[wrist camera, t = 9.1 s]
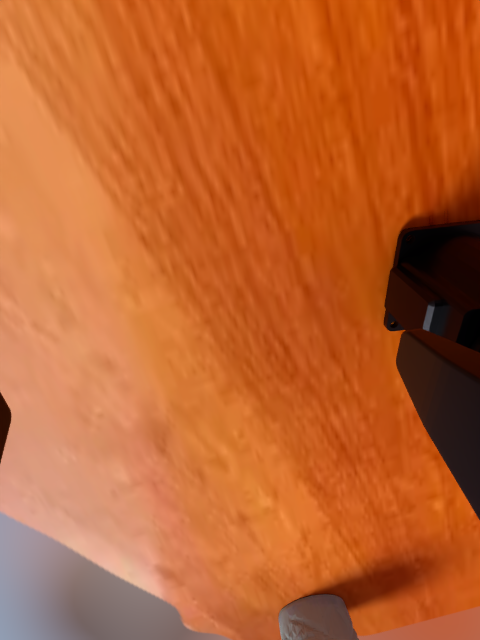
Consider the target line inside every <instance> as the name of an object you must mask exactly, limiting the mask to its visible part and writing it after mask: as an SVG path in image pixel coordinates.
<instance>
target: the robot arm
mask: <svg viewBox="0 0 480 640" xmlns="http://www.w3.org/2000/svg"><path fill="white" fill-rule="evenodd" d="M410 235H411V238H410V240H409V241H406V239H407V237H408V236H410ZM385 308H386V311H385V317H384V326H385V327H386V328H387V329H388V330H389V331H399V330H406V331H404V332H403V333H402V335H401V338H400V343H399V348H398V353H397V357H396V365H397V369H398V371H399V373H400V375H401V378H402V380H403V382H404V384H405V386H406V389H407V391H408V393H409V395H410V397H411V400H412V402H413V404H414V406H415V408H416V411H417V413H418V415H419V417H420V419H421V421H422V423H423V425H424V427H425V429H426V430H427V432H428V434H429V436H430V437H431V439H432V441H433V442H434V444H435V446H436V448H437V449H438V451H439V453H440V454H441V456H442V458H443V459H444V461H445V463H446V464H447V466H448V468H449V469H450V471H451V473H452V474H453V476H454V478H455V479H456V481H457V483H458V484H459V486H460V488H461V490H462V491H463V493H464V495H465V496H466V498H467V500H468V501H469V503H470V505H471V506H472V508H473V510H474V511H475V513H476V515H477V516H478V518H479V520H480V220H477V221H468V222H459V223H450V224H441V225H433V226H424V227H415V228H408V229H405V230H403V231H402V232H401V233H400V234H399V237H398V241H397V247H396V253H395V259H394V264H393V267H392V269H391V270H390V275H389V281H388V287H387V293H386V299H385ZM394 321H395V322H394ZM392 322H394V323H393V324H391V323H392ZM10 423H11V411H10V408H9V407H8V405H7V403H6V401H5V399H4V398H3V396H2V394H1V392H0V463H1V459H2V455H3V451H4V447H5V443H6V439H7V435H8V431H9V427H10Z"/></svg>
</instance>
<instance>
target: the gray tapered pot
mask: <svg viewBox="0 0 480 640" xmlns="http://www.w3.org/2000/svg"><path fill="white" fill-rule="evenodd" d="M279 626H280V633H281V639H282V640H359V639H358V638H357V634H356V632H355V630H354V629H353V626H352V621H351V618H350V616H349V613H348V611H347V608H346V606H345V603H344V601H343V600H342V598H340V597H338V596H336V595H330V594H320V595H311V596H308V597H304V598H301V599H299V600H296V601H294V602H292V603H290V604H288V605H287V606H285V607H284V608H283V609H282V610H281V611H280V613H279Z"/></svg>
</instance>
